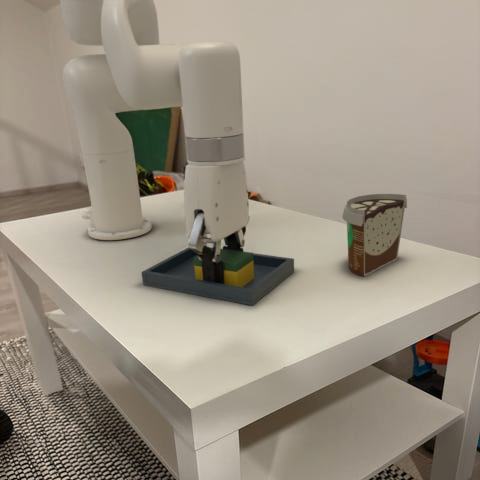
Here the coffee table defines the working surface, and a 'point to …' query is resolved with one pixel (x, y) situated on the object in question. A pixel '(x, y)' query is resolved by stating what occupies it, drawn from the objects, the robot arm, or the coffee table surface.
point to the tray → (183, 280)
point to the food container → (373, 230)
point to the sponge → (232, 267)
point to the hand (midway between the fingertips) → (224, 278)
